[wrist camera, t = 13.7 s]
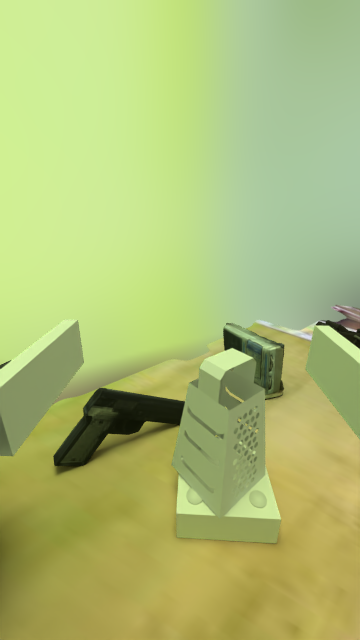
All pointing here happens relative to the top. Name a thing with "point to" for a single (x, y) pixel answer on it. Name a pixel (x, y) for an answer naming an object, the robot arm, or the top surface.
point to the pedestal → (240, 521)
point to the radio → (258, 357)
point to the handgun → (113, 421)
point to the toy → (344, 332)
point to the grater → (222, 429)
